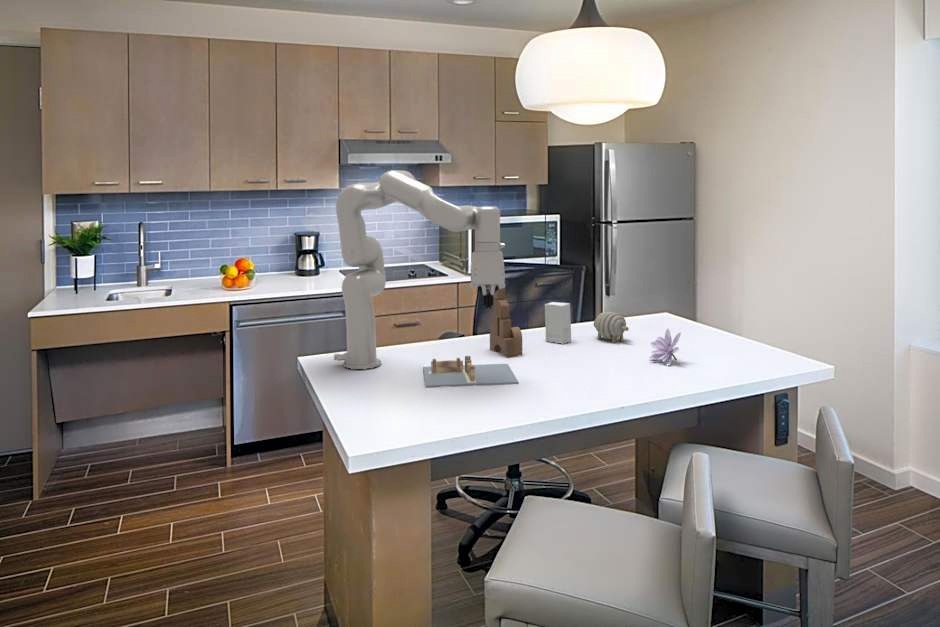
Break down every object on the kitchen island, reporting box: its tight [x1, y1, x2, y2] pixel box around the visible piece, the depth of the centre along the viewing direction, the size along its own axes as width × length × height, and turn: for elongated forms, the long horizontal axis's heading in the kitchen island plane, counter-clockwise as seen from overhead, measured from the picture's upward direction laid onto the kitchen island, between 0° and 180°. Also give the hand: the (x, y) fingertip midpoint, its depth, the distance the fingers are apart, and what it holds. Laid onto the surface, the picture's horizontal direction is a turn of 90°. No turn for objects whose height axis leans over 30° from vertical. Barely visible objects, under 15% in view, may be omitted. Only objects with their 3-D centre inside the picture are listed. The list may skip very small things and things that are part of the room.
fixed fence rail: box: [430, 357, 464, 372], centre depth 228 cm, size 10×1×4 cm, turn 96°
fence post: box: [464, 355, 472, 372], centre depth 228 cm, size 2×2×6 cm
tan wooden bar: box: [467, 359, 475, 381], centre depth 222 cm, size 10×1×4 cm, turn 8°
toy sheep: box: [593, 311, 630, 343], centre depth 272 cm, size 11×17×11 cm, turn 39°
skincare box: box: [544, 301, 572, 345], centre depth 270 cm, size 8×6×15 cm
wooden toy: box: [489, 287, 523, 358], centre depth 254 cm, size 16×7×25 cm, turn 24°
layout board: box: [422, 363, 520, 388], centre depth 226 cm, size 28×22×1 cm
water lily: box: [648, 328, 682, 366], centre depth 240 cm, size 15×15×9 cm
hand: (488, 307), depth 220 cm, fingers closed
